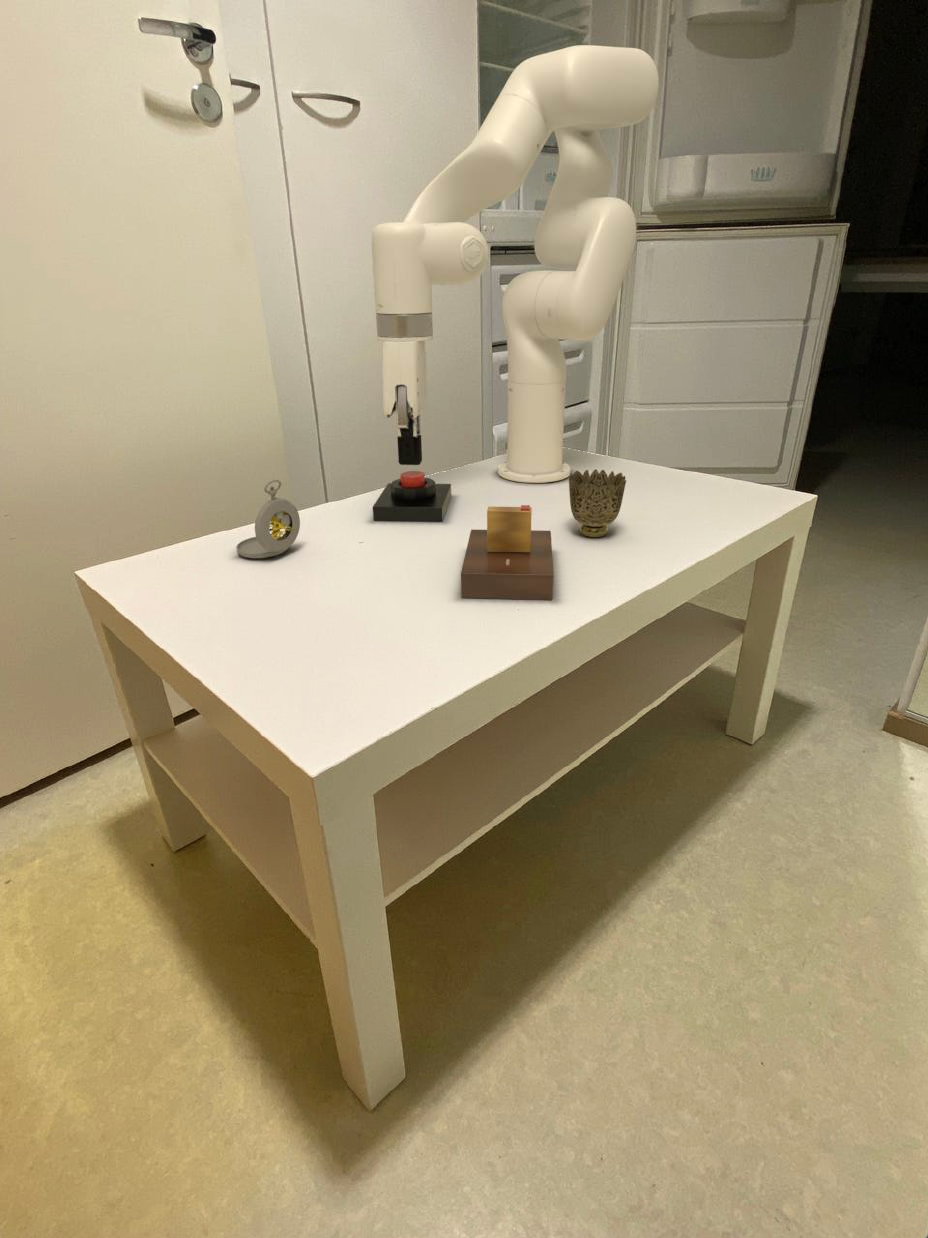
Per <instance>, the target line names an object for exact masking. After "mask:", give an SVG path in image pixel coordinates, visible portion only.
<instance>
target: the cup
mask: <svg viewBox="0 0 928 1238" xmlns="http://www.w3.org/2000/svg"><path fill="white" fill-rule="evenodd" d="M568 477H569V478H568V491H569V503H570V510H571V511H570V512H571V514H572V516H573V518H574V520H575V521H576V522H578V523H579V524H580V527H579V530H580V533H581V534H582V535H583V536H585V537H588V538H602V537H604V536H606V534H607V532H608V530H609V527H608V525H610V524H612V523H614V521H615V520H616V519H617V517H618V516H619V514H620V511H621V507H622V503H623V498H624V495H625V490H626V489H625V488H626V485H627V479H626V475H624V474H623V472H618V473H616V474H615V473H614V470H612V471H610V473H609V475H608V473H606V471H605V469H601V471H599V470H598V469H594V470H592V472H591V473H590V472H589V470H588V469H586V470H584V472H583V474H582V472H580V471H579V470H575V471H574V472H573V473H572V472H571V473H570V475H569V476H568Z"/></svg>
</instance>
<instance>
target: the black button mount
mask: <svg viewBox="0 0 928 1238" xmlns="http://www.w3.org/2000/svg"><path fill="white" fill-rule="evenodd" d="M451 499H452V484H451V483H436V481H435V480H433V479H432V478H430V477H429V478H428V477H425V485H423V486H419V487H404V486H401V478H400V477H399V478H398V479H394V480H393V481H391V482H389V483H387V484H386V486H385V487H384V489H383V490H382V492H381V493H380V495H379V497H378V498H377V500H376V501H375V503H374V504H373V506H372V516H373V518H372V519H373V522H388V523H389V522H391V523H392V522H393V523H394V522H396V523H399V522H401V523H407V522H408V523H443V522H444V519H445V516H446V513H447V510H448V508H449V505H450V502H451Z"/></svg>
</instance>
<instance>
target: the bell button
mask: <svg viewBox="0 0 928 1238" xmlns="http://www.w3.org/2000/svg"><path fill="white" fill-rule="evenodd" d="M400 478H401V486H404V487H419V486H423V485H425V478H426V473H425V472H423V471H419V470H408V471H404V472H401V473H400V477H399V479H400Z"/></svg>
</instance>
